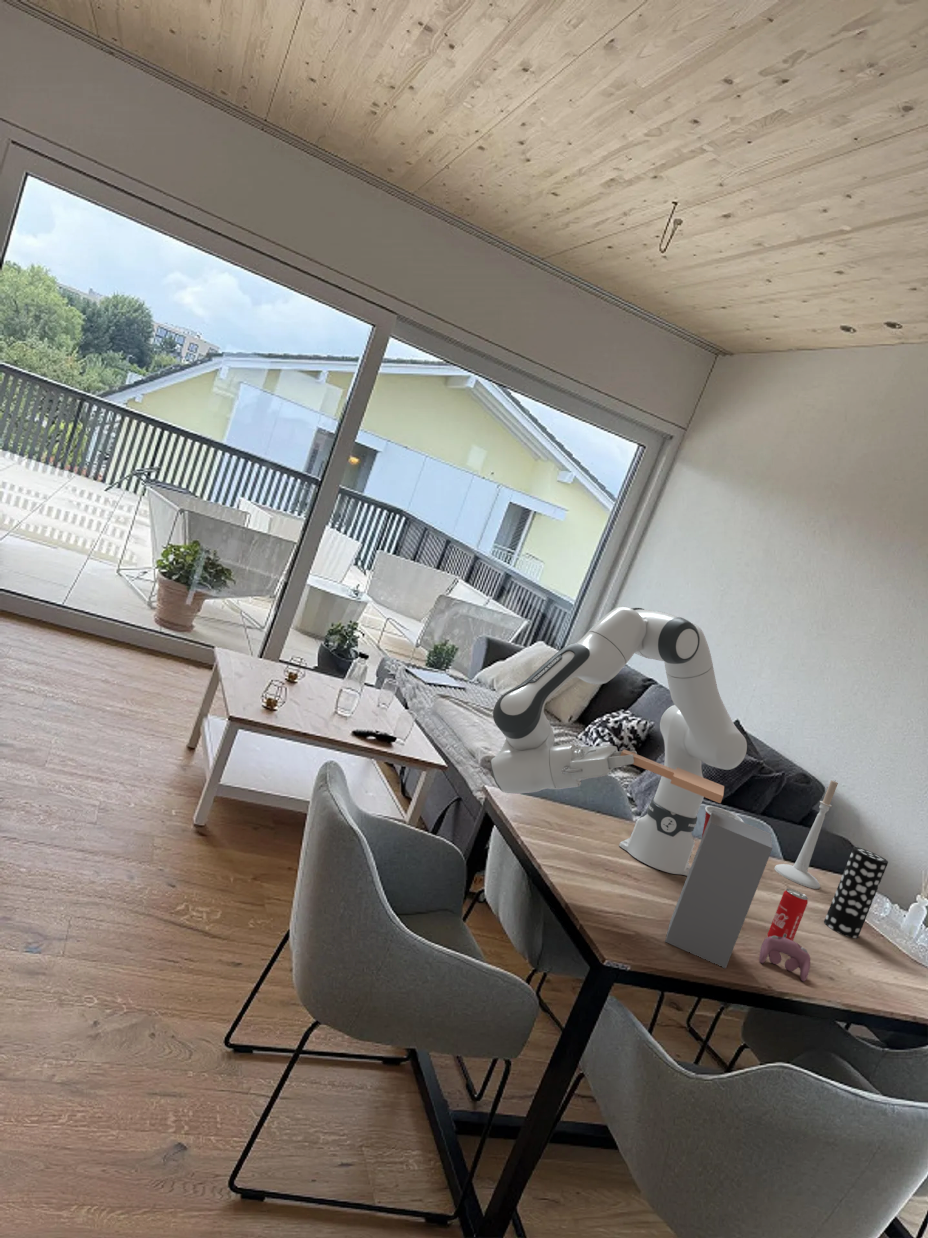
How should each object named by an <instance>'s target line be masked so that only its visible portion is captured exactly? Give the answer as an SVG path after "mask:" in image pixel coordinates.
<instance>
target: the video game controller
mask: <svg viewBox="0 0 928 1238" xmlns="http://www.w3.org/2000/svg"><path fill="white" fill-rule="evenodd" d="M781 953H782V954H785V955H787V956H789V957H790V958H788V959H786V961H785V963H784V968H785V969H786V970H787V971H788V972H794V971H796V969H798V968H799V972H800V975H799V976H800V981H802V982H803V983H804V982H806V980H807V979H808V977H809V973H810V969H811V955H810V954H809V951H808V950H807V949H806V948H805V947H803V946H802V945H800V944H799V943H798V942H796V941H794V940H793V941H792V940H789V939H787V938H784V937H778V936H769V937H768V936H767V937H766V938H764V940H763V942H762V944H761V947H760V951H759V955H758V957H759V958H758V960H759V963H760V964H764V963H765V962H766V961H767V958H768V959H769V962H770V963H771V964H773V965H779V964H780V963H781V962H782V959H783V957H782V954H781Z"/></svg>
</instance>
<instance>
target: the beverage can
mask: <svg viewBox="0 0 928 1238" xmlns="http://www.w3.org/2000/svg"><path fill="white" fill-rule="evenodd" d="M808 900H809V897H808V896H807V895H806V894H804V893H802V892H800V891H798V890H796V889H794V888H789V887H787V888H786V889H785V890H784V891H783V893H782V896H781V898H780V900H779V903H778V905H777V909H776V911H775V914H774V917H773V919H772V922H771V924H770V927H769V930H768V932H767V937H769V936H778V937H784V938H787V939H789V940H792V941H794V938H795V936H796V934H797V931H798V929H799V926H800V924H801V921H802V918H803V916H804V913H805V911H806V908H807V906H808V903H809V902H808Z"/></svg>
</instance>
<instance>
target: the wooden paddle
mask: <svg viewBox="0 0 928 1238" xmlns="http://www.w3.org/2000/svg"><path fill="white" fill-rule="evenodd" d="M630 751H631V750H630ZM630 751H629V750H628V749H623V750H622V753H621V755H620V756H624V755H630V754H632V755H633V756H634V760H635V761H634V763H633V764H632V765H634V766H636V767H639V768H642V769H644V770H646V771H649V772H651V773H654V774H656V775H658V776H661V777H662V776H663V777H666V778H668V779H671V782H670V783H671V784H674V785H676V786H679V787H681V788H683V789H686V790H688V791H691V792H693V793H696V794H698V795H701V796H703V797H704V798H705V799H709V800H711V801H713V802H716V803H718V804H721V803H722V800H723V798H724V795H725V794H724V793H725V785H722V784H720V783H717V782H715V781H712V780H710V779H708V778H705V777H704V776H703V777H700V776H698V775H695V774H693V773H690V772H688V771H685V770H683V769H680V768H678V767H677V768H676V770H675V769H672V768H670V767H667V766H665V765H664V764H661V763H659V762H657V761H655V760H652V759H649V758H647V757H644V756H642V755H639V754H638V753H637V754H635V753H632V752H630Z"/></svg>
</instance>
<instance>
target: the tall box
mask: <svg viewBox="0 0 928 1238" xmlns="http://www.w3.org/2000/svg"><path fill="white" fill-rule="evenodd" d="M773 847H774V846H773V842H772V834H771V832H768V831H765V830H763V829H761V828H758V827H756V826H754V825H751V824H748V823H745V821H744V822H741V821H739V820H736V819H734V818H731V817H729V816H726V815H724V814H722V813H719V812H717V811H714V810H712V813H711V816H710V818H709V821H708V823H707V826H706V829H705V831H704V834H703V836H702V835H701V839H700V842H699V845H698V847H697V850H696V851H695V852H696V853H695V855H694V857H693V860H692V864H691V865H690V867H691V868H690V871H689V873H688V876H686V879H685V881H684V885H683V886H682V889H681V892H680V894H679V896H678V899H677V902H676V906H675V907H674V911H673V913H672V915H671V917H670V921H669V924H668V928H667V933H666V936H665V943H668V944H669V945H672V946H674V947H675V948H678V949H680V950H683V951H685V952H687V953H689V952H690V954H691V955H694V956H696V955H697V956H696V957H698V956H699V958H700V957H701V958H700V959H703V960H705V959H706V961H707V962H709V961H710V962H709V963H712V964H714V963H715V964H714V965H716V964H718V965H719V967H720V966H722V967H721V968H723V969H725V968H726V969H727V966H728V964H729V961H730V959H731V956H732V953H733V951H734V948H735V945H736V943H737V940H738V938H739V936H740V932H742V931H741V930H742V928H743V925H744V923H745V921H746V917H747V915H748V912H749V909H750V907H751V905H752V902H753V900H754V897H755V894H756V892H757V889H758V887H759V884H760V882H761V879H762V876H763V874H764V871H765V869H766V866H767V863H768V861H769V858H770V856H771V854H772V852H773ZM718 965H717V966H718Z"/></svg>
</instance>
